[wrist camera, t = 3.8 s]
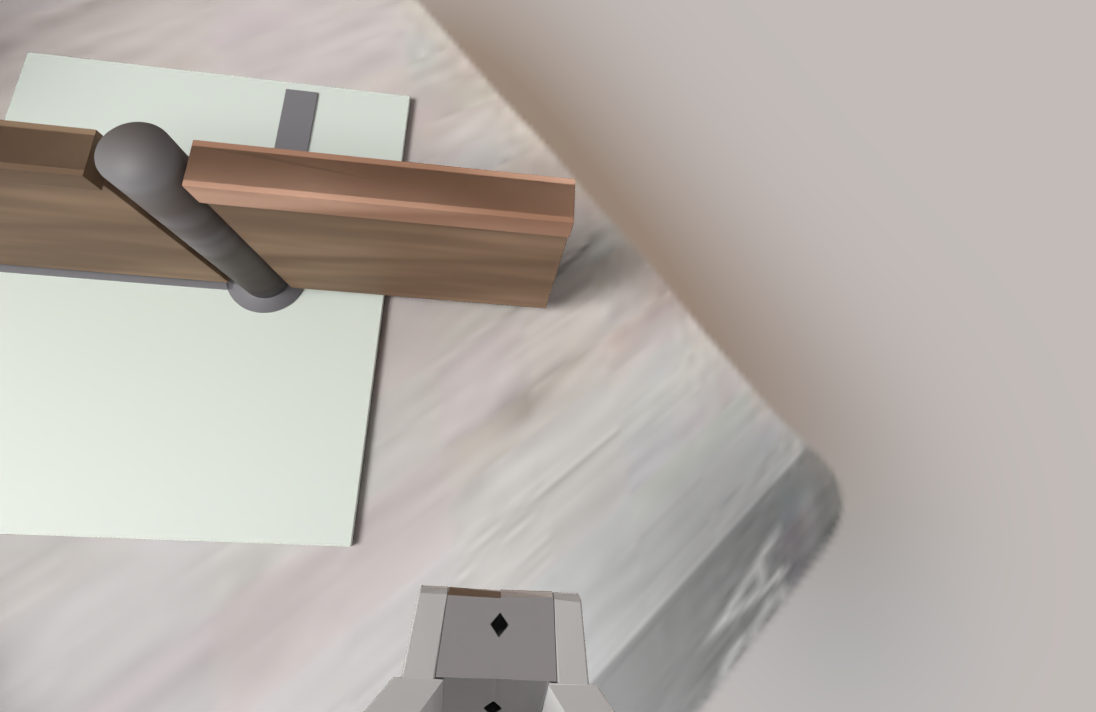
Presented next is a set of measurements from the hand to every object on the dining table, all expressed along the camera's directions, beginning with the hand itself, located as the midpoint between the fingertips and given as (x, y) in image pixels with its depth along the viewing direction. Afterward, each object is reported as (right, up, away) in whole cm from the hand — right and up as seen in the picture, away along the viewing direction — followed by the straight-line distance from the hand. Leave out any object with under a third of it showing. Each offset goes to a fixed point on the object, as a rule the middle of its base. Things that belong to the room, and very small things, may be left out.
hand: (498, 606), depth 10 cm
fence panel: (-5, +8, +15) cm, 18 cm away
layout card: (-17, +8, +15) cm, 24 cm away
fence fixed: (-19, +9, +15) cm, 25 cm away
